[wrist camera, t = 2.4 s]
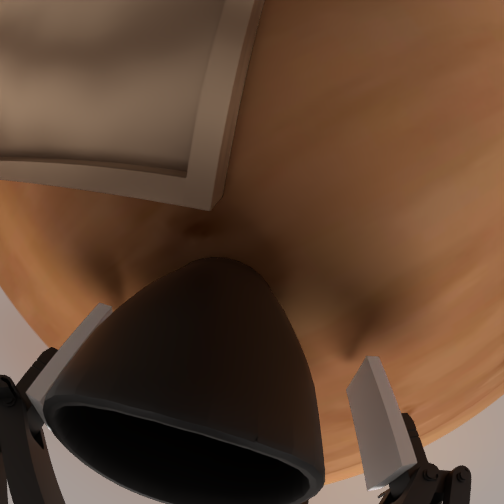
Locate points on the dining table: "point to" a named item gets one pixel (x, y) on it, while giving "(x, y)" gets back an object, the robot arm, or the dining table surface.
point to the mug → (195, 394)
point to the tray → (124, 94)
